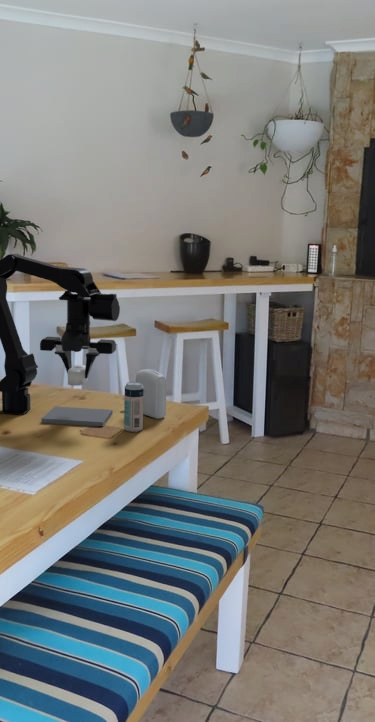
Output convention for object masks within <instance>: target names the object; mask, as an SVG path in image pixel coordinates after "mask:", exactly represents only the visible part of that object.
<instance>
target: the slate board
mask: <svg viewBox="0 0 375 722" xmlns="http://www.w3.org/2000/svg"><path fill="white" fill-rule="evenodd" d="M113 412H114V410H113V409H104V408H89V407H87V408H86V407H71V406H53V407H52V408H51V409H50V410H49V411H48V412H47V413H46V414H45V415H43V416H42V417H41V424H53V425H69V426H70V425H71V426H84V427H86V426H88V427H98V426H103V427H104V426H105V425H106V424H107V422H108V421H109V419H110V418H111V417H112V416H113Z"/></svg>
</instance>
